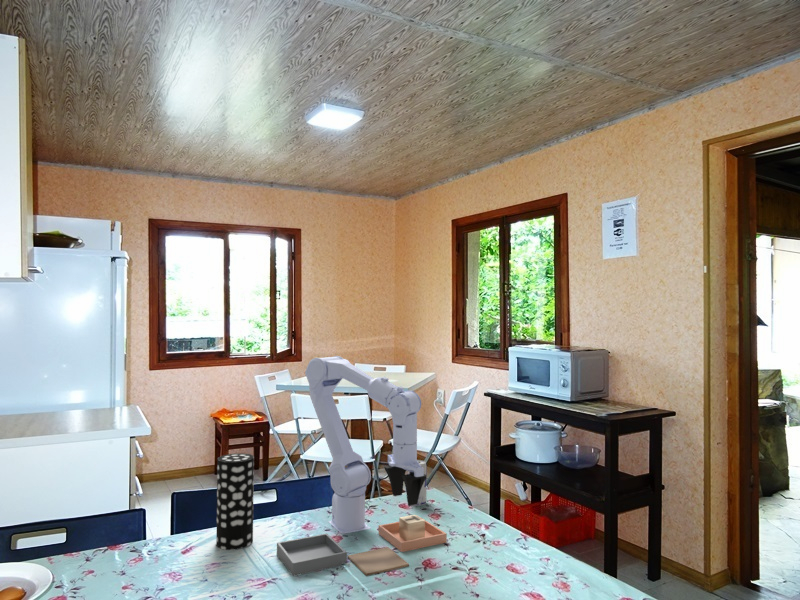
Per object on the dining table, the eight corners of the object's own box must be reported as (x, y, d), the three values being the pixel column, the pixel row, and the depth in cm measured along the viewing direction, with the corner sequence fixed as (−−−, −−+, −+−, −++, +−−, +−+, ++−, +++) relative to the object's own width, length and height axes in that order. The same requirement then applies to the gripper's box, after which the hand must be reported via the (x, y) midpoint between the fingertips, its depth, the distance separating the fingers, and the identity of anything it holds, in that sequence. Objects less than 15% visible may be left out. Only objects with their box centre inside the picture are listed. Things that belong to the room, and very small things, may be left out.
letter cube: (399, 536, 137) (399, 517, 137) (415, 533, 139) (415, 514, 140) (408, 542, 133) (408, 523, 133) (424, 539, 135) (424, 520, 136)
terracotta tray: (378, 536, 139) (378, 525, 139) (421, 527, 144) (421, 517, 145) (401, 554, 128) (401, 542, 128) (446, 544, 134) (446, 533, 134)
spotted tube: (208, 546, 132) (209, 460, 133) (231, 533, 140) (232, 452, 140) (237, 552, 129) (239, 463, 130) (260, 539, 137) (261, 455, 137)
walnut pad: (347, 559, 125) (347, 555, 125) (387, 551, 130) (387, 546, 130) (366, 578, 116) (366, 573, 116) (408, 568, 121) (409, 563, 121)
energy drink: (426, 501, 165) (427, 460, 165) (425, 507, 159) (426, 464, 160) (408, 501, 165) (408, 459, 166) (406, 507, 160) (407, 464, 160)
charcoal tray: (276, 554, 128) (276, 542, 128) (326, 544, 134) (327, 533, 134) (292, 576, 117) (293, 563, 117) (346, 564, 123) (346, 552, 123)
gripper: (376, 438, 141) (376, 493, 140) (404, 450, 128) (404, 511, 127) (401, 435, 144) (401, 489, 143) (431, 447, 131) (431, 506, 131)
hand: (404, 499), depth 136 cm, fingers open, 7 cm apart
